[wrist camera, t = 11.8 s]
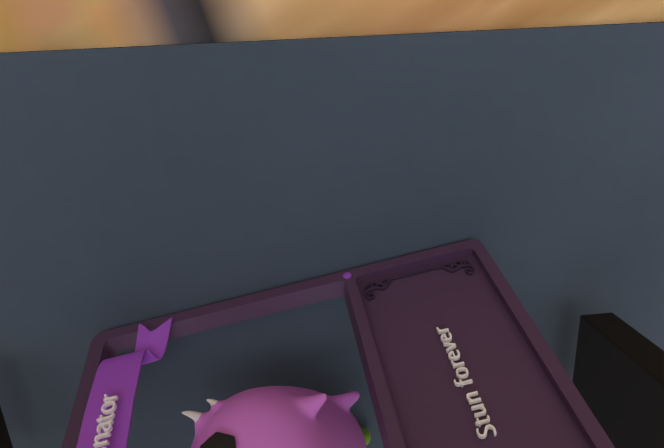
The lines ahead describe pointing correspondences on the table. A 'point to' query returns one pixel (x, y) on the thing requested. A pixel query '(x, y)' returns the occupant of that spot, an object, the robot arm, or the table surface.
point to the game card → (370, 367)
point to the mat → (313, 199)
